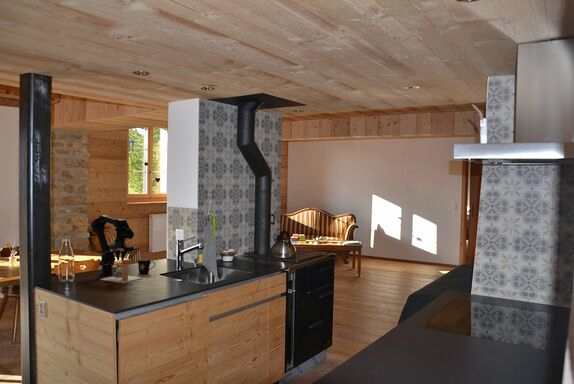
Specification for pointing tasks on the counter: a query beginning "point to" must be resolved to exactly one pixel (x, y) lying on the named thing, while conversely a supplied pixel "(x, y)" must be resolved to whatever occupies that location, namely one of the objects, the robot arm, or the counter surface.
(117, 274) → the board
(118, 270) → the button
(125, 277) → the marker
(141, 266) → the coffee mug
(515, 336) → the counter surface
